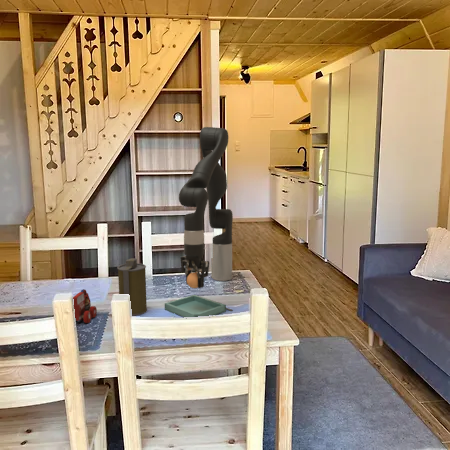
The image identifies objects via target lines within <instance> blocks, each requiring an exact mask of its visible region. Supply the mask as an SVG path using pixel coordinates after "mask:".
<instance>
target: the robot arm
mask: <svg viewBox="0 0 450 450" xmlns="http://www.w3.org/2000/svg"><path fill="white" fill-rule="evenodd" d="M199 143H200V145H199V146H200V151H201V156H202V159H200V160H199V161H198V163H196V165H195V166H194V169H193V171H192V174H191V176H190V178H189V179H188V180H187V181H186V182H185V184H184V185H183V186H182V188H181V189H180V191H179V193H178V201H179V203H180V205H181V206H182V207H187V208H195V211H194V212H190V213H186V214H185V215H184V220H183V222H184V225H183V227H184V230H183V232H184V233H183V254H184V256H180V259H179V260H180V266H181V267H180V268H181V272H182V273H184V274H185V282H186V283H185V284H186V285H188V284H187V277H188V275H189V274H190V273H193V270H194V272H195V273H197V276H198V288H197V289H201V288H202V289H203V288H204V286H205V278H207V277H209V269H210V268H211V272H210V275H211V278H212V279H213V280H214V281H220V282H223V281H224V282H225V281H231V280H232V279H233V211H232V209H229V208H217V205H218V204H219V202H220V201H221V199H222V198H223V197H224V195H225V194H226V192H227V189H228V179H227V173H226V171H225V170H224V168H223V167H222V165H221V164H220V163H219V162H220V160H221V158H222V157H223V155H224V153H225V152H226V149H227V147H228V144H229V132H228V130H227V129H226V128H222V127H213V126H205V127H204V126H203V127H202V128H201V129H200V131H199ZM207 205H208V222H209V226H210V228H212V229H216V230H224V231H223V232H222V233H220V234H218V235H217V234H216V235H214V236H213V237H212V258H211V261H209V260H204V255H205V231H204V228H205V227H204V226H205V225H204V219H205V214H206V213H205V212H206V208H207ZM210 263H211V265H210ZM188 286H189V285H188Z"/></svg>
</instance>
